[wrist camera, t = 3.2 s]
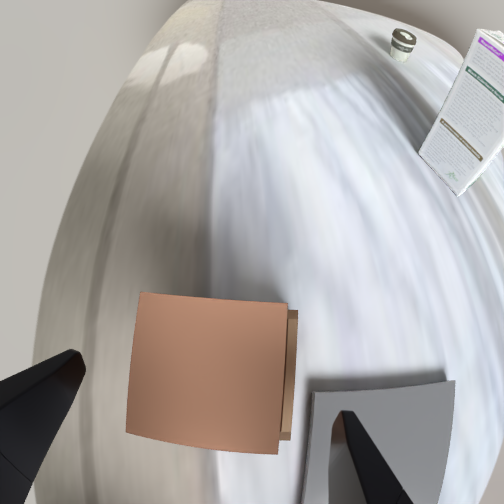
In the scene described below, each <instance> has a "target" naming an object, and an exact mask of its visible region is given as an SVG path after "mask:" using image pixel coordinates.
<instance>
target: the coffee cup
mask: <svg viewBox="0 0 504 504" xmlns="http://www.w3.org/2000/svg"><path fill="white" fill-rule="evenodd" d="M392 35H393V37H392V42H391V44H392V45H391V51H390V55H391V57H392V58H394V59H395V60H397V61H400V62H406V61H407V59H408V57H409V55H410V53H411V52H412V50H413V47H414V45H415V44H416V37H415V36H414V35H413V34H412V33H410V32H408V31H406V30H403V29H395V30H394V31H393V33H392Z"/></svg>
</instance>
